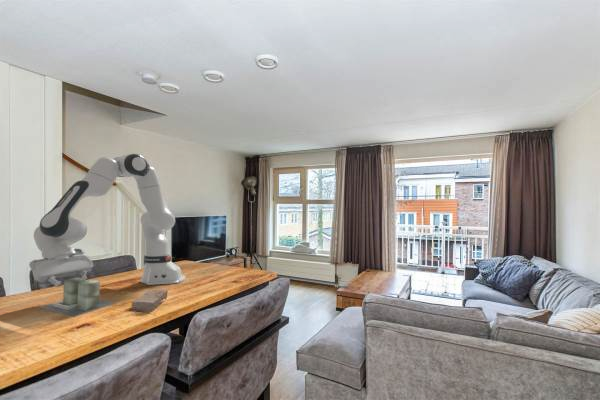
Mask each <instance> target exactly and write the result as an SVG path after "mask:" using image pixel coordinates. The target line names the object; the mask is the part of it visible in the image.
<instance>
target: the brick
mask: <svg viewBox="0 0 600 400" xmlns="http://www.w3.org/2000/svg"><path fill="white" fill-rule="evenodd" d="M167 298H168V289H163V288H161V289H160V288H159V289H148V290H147V291H145V292H144V293H143V294H142V295H140V296H139V297H137V298H136V299H134V300H132V302H131V310H136V311H133V313H135V314H136V313H145V314H146V313H153V312H154V311H155V310H156V309H157V308H158V307H160V306H161V305H162V304H163V303H164V302H165V301H164V300H167Z"/></svg>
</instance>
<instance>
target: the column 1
mask: <svg viewBox="0 0 600 400" xmlns="http://www.w3.org/2000/svg"><path fill="white" fill-rule="evenodd" d="M80 282H85V279H84V278H81V277H79V276H77V277H73V278H68V279H67V278H66V279H64V280H63V292H62V294H63V295H62V301H63V305H67V306H71V305H75V304H77V301H78V283H80Z"/></svg>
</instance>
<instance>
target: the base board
mask: <svg viewBox="0 0 600 400" xmlns="http://www.w3.org/2000/svg"><path fill="white" fill-rule="evenodd" d="M115 304H117V302H113V301H109V300H104V299H99V307H96V308H93V309H89V310H86V311H85V310H81V309H77V304H75V305H71V306H67V305H63V300H62V301H61V300H60V301H57V302H53V303H50V304H49V303H48V304H46V305H42V306H39V307H37V308H38V309H41V310H44V311H49V312H54V313H57V314H61V315H65V316H69V317H71V318H75V317H79V316H81V315H84V314H88V313H91V312H93V311H94V312H95V311H96V310H100V309H103V308H106V307H109V306H112V305H115Z"/></svg>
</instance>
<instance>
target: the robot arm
mask: <svg viewBox="0 0 600 400" xmlns="http://www.w3.org/2000/svg"><path fill="white" fill-rule="evenodd" d="M119 177H120V178H130V177H133V179H134V180H135V182H136V183H137V184H136V185H137V189H138V194H139V198H140V201H141V204H142V205H143V206H144V207H145V209H146V211H145V212H143V214H141V216H140V223H141V225H142V228H143V234H144V240H145V242H144V243H145V246H144V247H145V249H144V252H145V254H144V257H143V273H142V277H141V279H140V283H142V284H146V285H148V286H151V285H152V286H153V285H154V286H155V285H169V284H170V285H172V284H180V283H182V282H185V280H186V275H182V270H181V269H182V268H181V267H180V266H178V265H177V264H175V262H172V255H170V254H168V245H169V244H168V243H169V240H168V238H167V236H166V233H165V231H168V230H171V229H172V228H173V227H174V226H175V224H176V217H175V215H174V214H173V213H172V212H171V210H170V208H169V206H168V205H167V202H166V200H165V198H164V194H163V189H162V186H161V182H160V178H159V176H158V173H157V171H156V169H155V167H153V166H150V164H149V163H148V161H147V160H146V158H145V157H144V156H143V155H141V154H138V153H131V154H130V153H129V154H123V155H121V156H118V157H115V158H111V157H107V156H103V157H102V156H101V157H100V158H98V159H97V160H96V161H95V162H94V163H93V164H92V165H91V166H90V168H89V170H88V171H87V173H86V174H85V175H84V177H83V178H82V179H81V180H78V181H76V182H74V183H73V184H72V185H71V186H70V187H69V189H68V190H66V191H65V193H64V194H63V196H61V198H60V199H59V200H58V201H57V203H56V204H55V205H54V207H52V209H50V210H49V211H48V212H47V213H46V214H44V216H42V217H41V219H40V221H39V225H38V226H37V227H36V228H35V230H34V231H33V239H34V242H35V245H36V247H37V249H38V250H39V251H40V252H41V257H42V258H40V259H33V260H32V261H30V262H29V264H28V265H29V268H30V270H32V277H33V279H34V281H36V282H44V281H48V282H49V283H50V284H52V285H54V287H55V288H59V287H61V286H62V285H63V283H62V281H61V280H57V279H58V278H63V277H64V278H65V277H69V276H75V275H79V274H80V275H81V277H80V278H84V279H85V281H88V277H87V273H88V272H91V270H92V269H93V267H94V263H93V261H92V259H91V258H90V257H89V256H88V255H87V254H86V253H85V249H83V248H75V247H70V245H73V244H75V243H77V242H80V241H81V240H82V239H84V238H85V236H86V235H87V231H88V227H87V225H86V224H85V223H84V222H83V221H81V220H78V219H76V218H73V217H71V213H72V212H73V211H74V210H75V208H76V207H77V206H78V205H79V203H80V202H81V200H83V199H84V198H86V197H102V196H105V195H107V194H108V192H110V190H111V188H112V186H113V185H114V183H115V180H116V179H117V178H119Z"/></svg>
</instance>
